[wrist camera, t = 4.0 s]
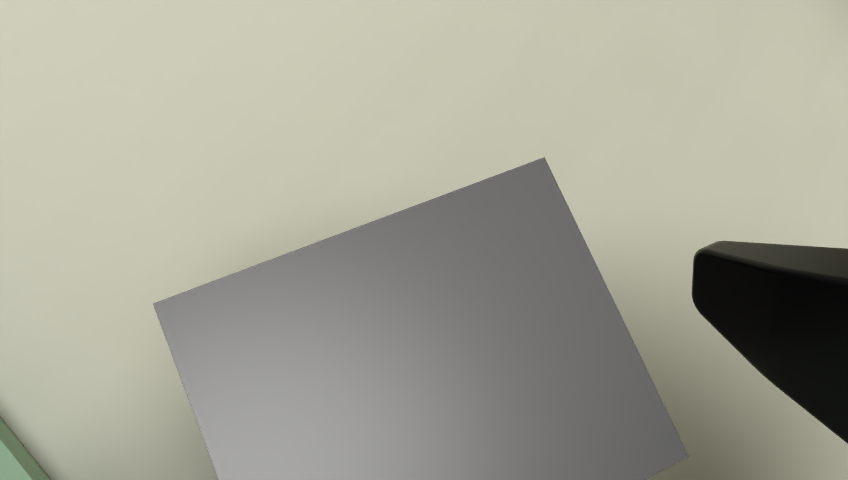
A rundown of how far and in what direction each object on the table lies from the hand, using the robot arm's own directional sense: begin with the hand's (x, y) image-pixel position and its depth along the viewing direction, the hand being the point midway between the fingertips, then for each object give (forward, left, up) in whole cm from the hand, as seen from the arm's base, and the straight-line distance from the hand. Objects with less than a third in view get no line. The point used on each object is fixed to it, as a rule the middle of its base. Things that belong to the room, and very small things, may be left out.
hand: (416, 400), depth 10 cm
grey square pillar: (0, 0, -9) cm, 9 cm away
